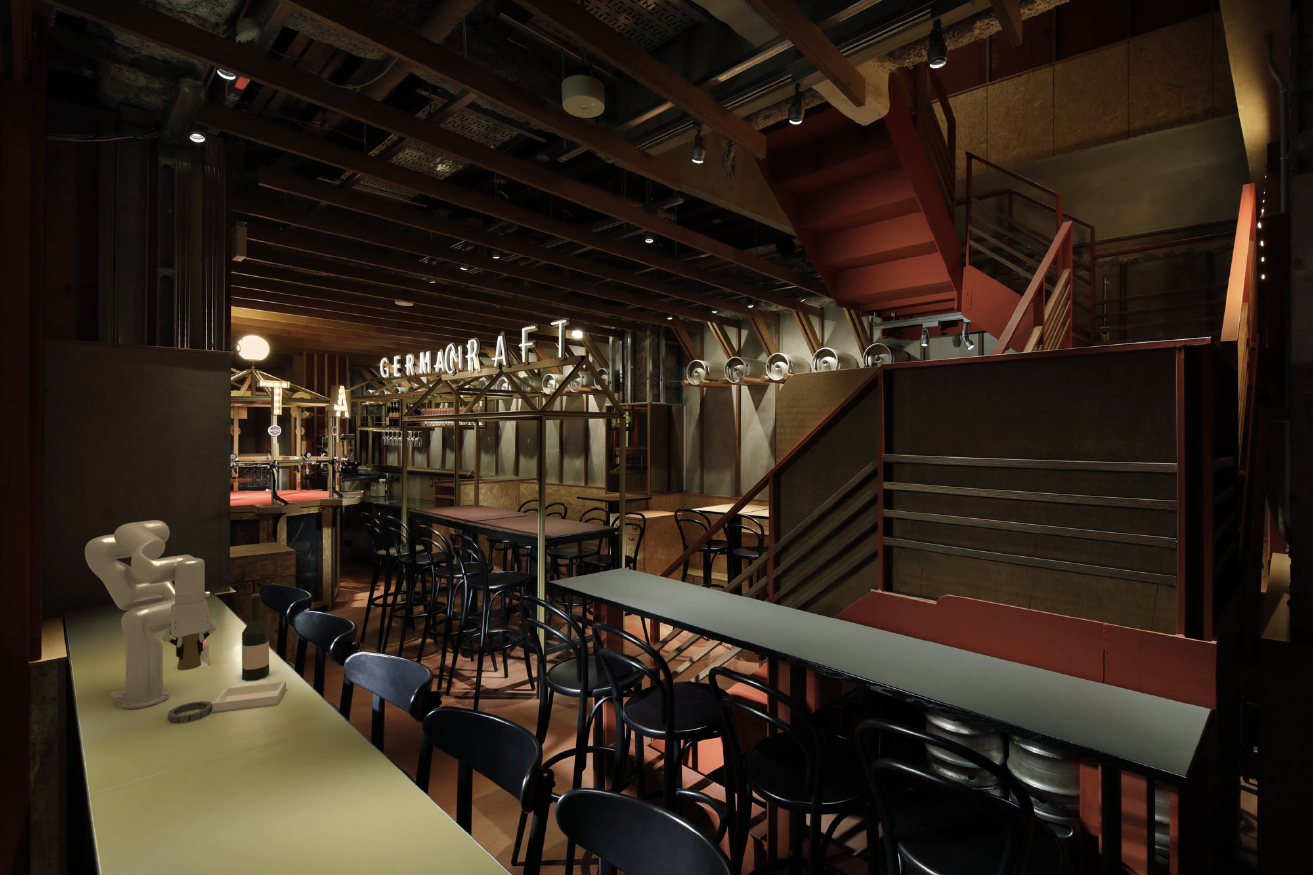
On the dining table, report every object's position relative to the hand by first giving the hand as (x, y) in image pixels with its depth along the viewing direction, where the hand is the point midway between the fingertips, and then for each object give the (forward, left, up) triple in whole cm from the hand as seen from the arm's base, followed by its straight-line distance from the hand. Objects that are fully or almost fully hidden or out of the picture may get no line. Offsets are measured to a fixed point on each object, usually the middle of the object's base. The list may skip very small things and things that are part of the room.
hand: (189, 655), depth 198 cm
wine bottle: (+11, +29, -19) cm, 36 cm away
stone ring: (0, 0, -19) cm, 19 cm away
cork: (0, 0, -3) cm, 3 cm away
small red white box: (-14, +50, -19) cm, 55 cm away
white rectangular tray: (+15, +6, -19) cm, 25 cm away
